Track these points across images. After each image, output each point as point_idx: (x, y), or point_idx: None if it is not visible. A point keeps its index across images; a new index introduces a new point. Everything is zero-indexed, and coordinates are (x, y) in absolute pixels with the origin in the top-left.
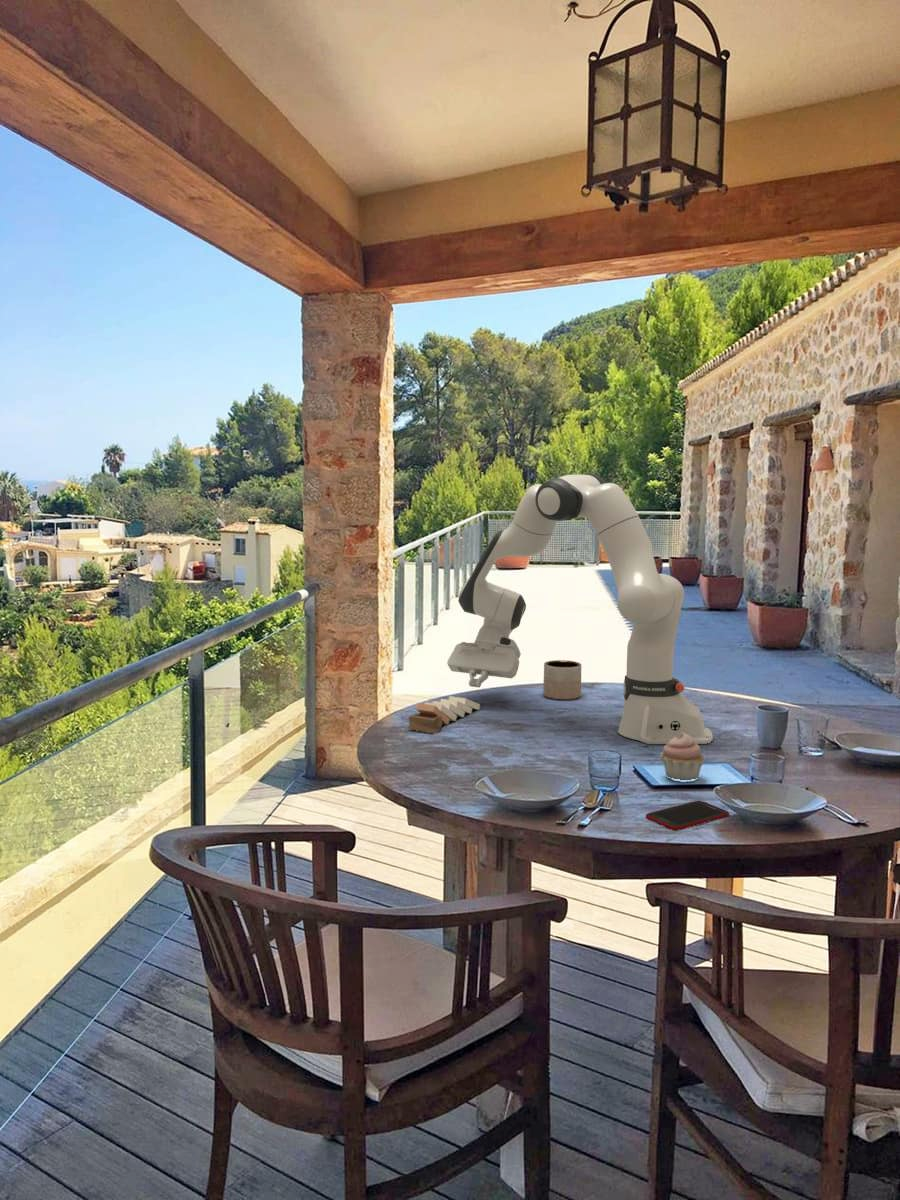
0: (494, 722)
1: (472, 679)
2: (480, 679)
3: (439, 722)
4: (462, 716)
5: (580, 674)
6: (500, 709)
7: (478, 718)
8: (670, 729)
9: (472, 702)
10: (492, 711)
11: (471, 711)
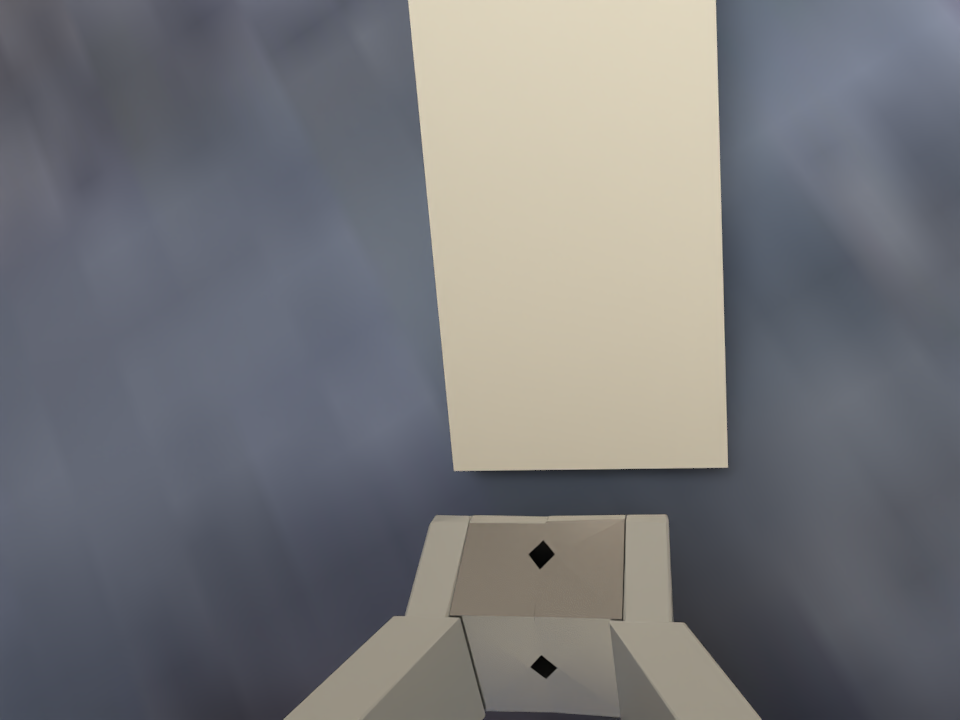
0: (111, 78)
1: (598, 588)
2: (397, 627)
3: None
4: None
5: None
6: (255, 617)
7: (311, 111)
8: None
9: (434, 216)
10: (301, 473)
11: None
